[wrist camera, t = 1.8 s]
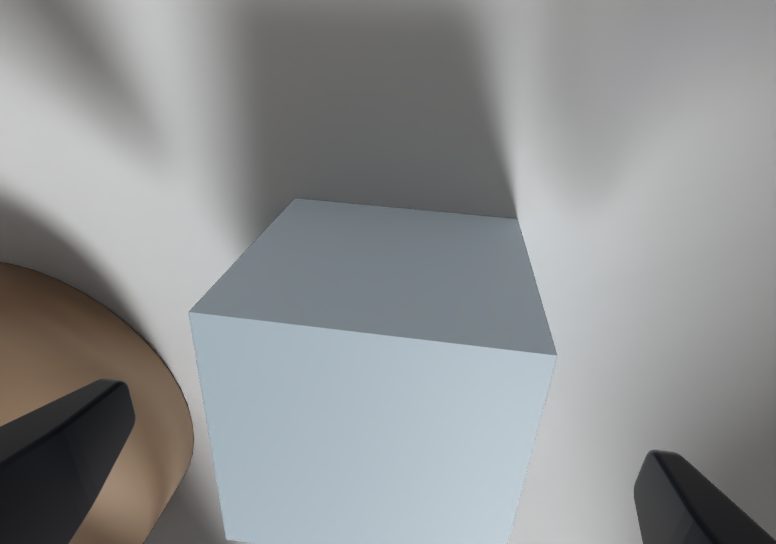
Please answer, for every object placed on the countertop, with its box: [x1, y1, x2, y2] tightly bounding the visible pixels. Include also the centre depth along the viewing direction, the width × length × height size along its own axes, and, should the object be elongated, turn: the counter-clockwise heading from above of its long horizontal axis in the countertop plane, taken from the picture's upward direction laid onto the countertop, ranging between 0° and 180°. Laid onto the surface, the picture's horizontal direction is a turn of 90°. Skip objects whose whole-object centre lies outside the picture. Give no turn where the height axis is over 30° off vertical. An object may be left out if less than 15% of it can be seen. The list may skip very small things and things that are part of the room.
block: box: [189, 198, 557, 544], centre depth 10 cm, size 5×5×5 cm
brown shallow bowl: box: [0, 262, 194, 544], centre depth 14 cm, size 10×10×2 cm
